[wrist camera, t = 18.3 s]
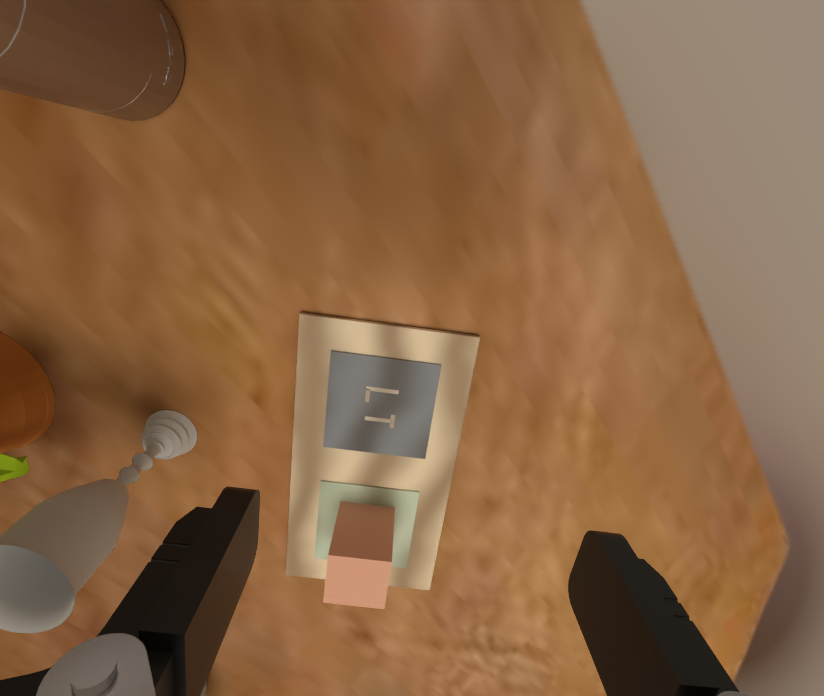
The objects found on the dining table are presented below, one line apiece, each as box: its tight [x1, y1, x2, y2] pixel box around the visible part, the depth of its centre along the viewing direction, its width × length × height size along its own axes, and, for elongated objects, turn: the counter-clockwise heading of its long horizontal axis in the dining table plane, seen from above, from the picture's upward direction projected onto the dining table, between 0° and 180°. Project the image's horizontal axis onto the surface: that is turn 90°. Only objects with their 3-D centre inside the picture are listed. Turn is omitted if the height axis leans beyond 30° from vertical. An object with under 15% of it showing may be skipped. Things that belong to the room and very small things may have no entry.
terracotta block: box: [323, 501, 395, 609], centre depth 42 cm, size 6×6×7 cm
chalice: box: [0, 410, 197, 633], centre depth 35 cm, size 7×7×18 cm
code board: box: [286, 312, 480, 590], centre depth 44 cm, size 16×30×1 cm, turn 172°
